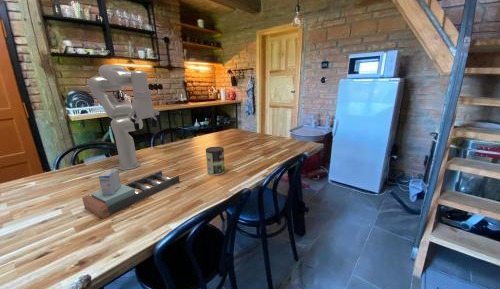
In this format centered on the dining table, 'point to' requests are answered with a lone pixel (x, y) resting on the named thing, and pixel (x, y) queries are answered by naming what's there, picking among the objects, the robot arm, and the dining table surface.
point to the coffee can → (215, 160)
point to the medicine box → (110, 181)
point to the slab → (115, 195)
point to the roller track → (104, 210)
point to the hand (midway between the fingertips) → (146, 128)
